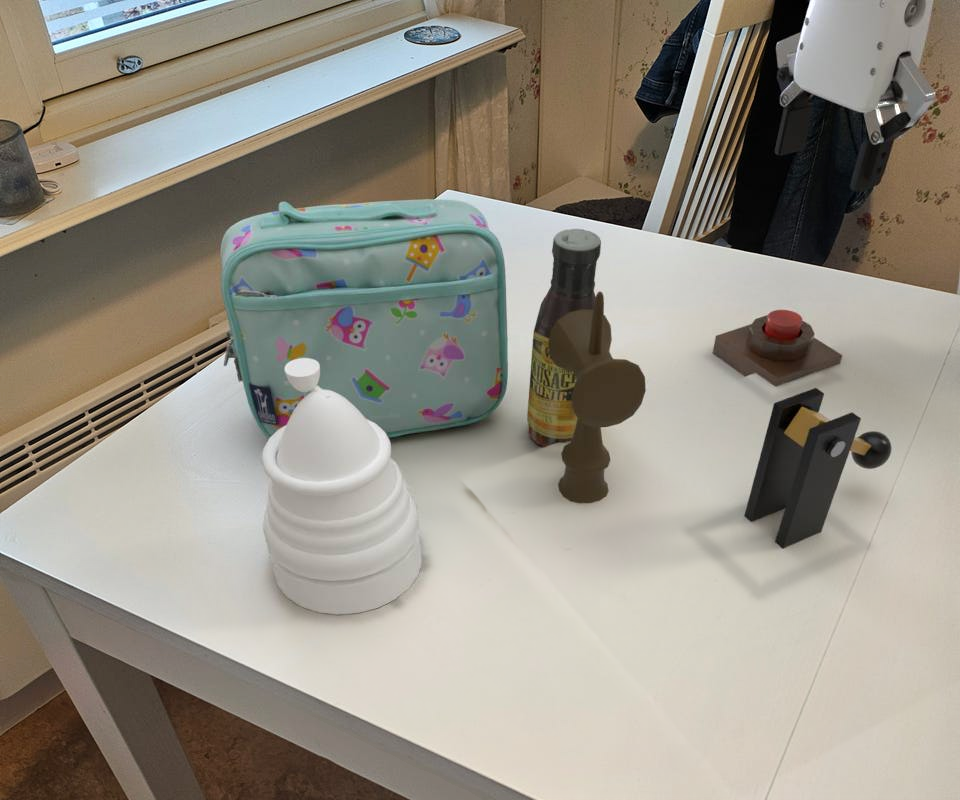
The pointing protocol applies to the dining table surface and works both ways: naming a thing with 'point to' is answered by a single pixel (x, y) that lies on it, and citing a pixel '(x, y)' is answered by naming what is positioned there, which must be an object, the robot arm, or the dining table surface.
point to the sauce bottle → (566, 294)
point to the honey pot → (337, 505)
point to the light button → (783, 325)
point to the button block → (774, 353)
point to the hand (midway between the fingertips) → (825, 169)
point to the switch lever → (865, 449)
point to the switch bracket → (800, 469)
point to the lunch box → (370, 310)
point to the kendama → (592, 397)
